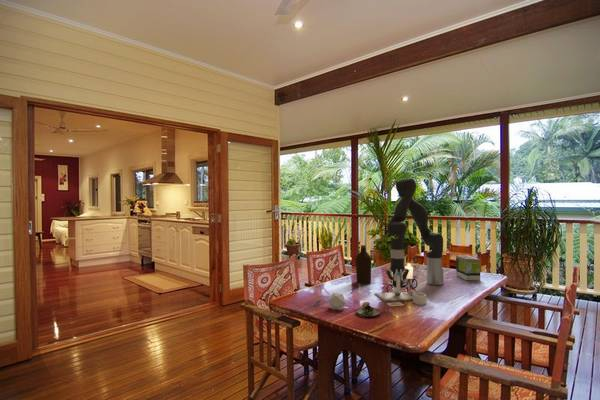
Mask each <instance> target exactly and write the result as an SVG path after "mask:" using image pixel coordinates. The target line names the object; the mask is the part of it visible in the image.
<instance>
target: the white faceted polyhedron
mask: <svg viewBox="0 0 600 400" xmlns="http://www.w3.org/2000/svg"><path fill="white" fill-rule="evenodd" d="M328 303H329V306H330V308H331V310H334V311H335V310H336V311H342V310H343V308H344V307H345V305H346V304H347V302H346V299H345V296H344V294H343V293H336V292H333V293H332V294H331V296H330V298H328Z"/></svg>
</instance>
